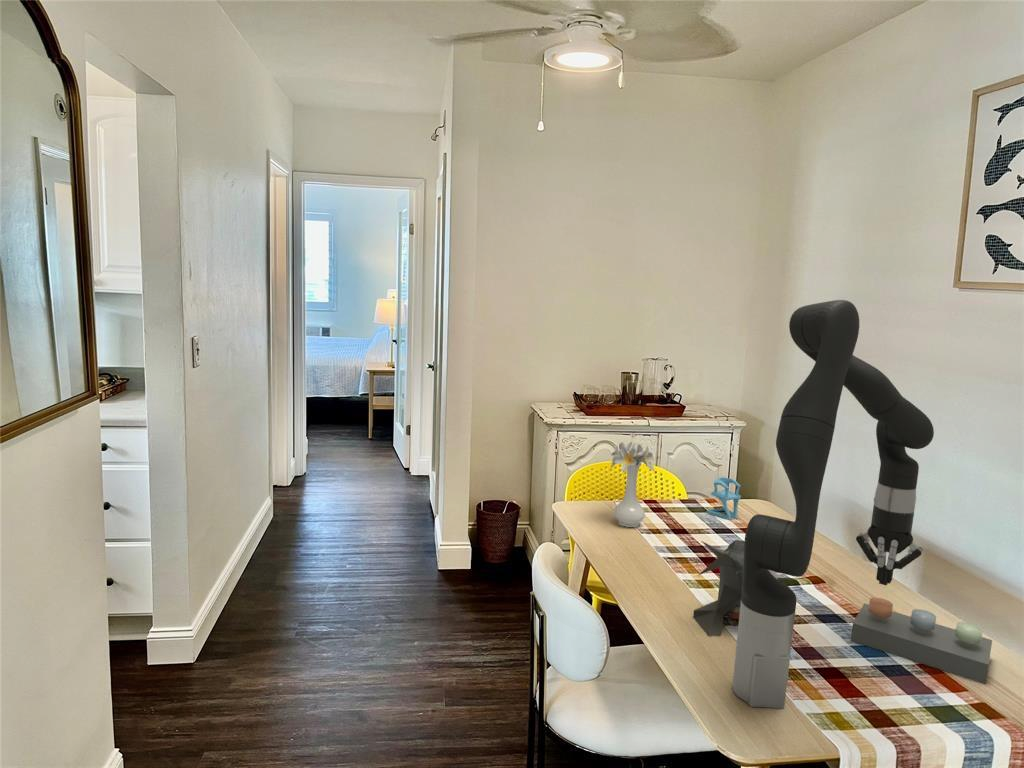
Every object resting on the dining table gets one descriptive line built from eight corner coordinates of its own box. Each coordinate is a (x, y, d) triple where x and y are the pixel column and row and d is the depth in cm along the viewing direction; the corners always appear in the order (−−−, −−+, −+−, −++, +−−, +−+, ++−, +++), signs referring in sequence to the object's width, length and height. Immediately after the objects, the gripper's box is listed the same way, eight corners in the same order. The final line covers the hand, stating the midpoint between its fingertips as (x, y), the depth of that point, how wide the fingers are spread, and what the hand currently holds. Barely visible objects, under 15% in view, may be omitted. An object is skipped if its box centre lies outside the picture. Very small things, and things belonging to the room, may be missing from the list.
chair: (725, 521, 219) (728, 484, 217) (705, 512, 226) (709, 476, 225) (742, 518, 223) (746, 481, 221) (723, 509, 230) (726, 474, 228)
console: (989, 658, 145) (992, 640, 144) (985, 683, 135) (988, 664, 134) (861, 619, 159) (864, 603, 158) (850, 640, 149) (852, 623, 149)
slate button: (935, 624, 147) (937, 614, 146) (933, 632, 143) (934, 621, 143) (911, 617, 149) (913, 607, 149) (908, 625, 146) (910, 614, 145)
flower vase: (643, 514, 223) (649, 437, 219) (653, 535, 204) (660, 452, 200) (602, 511, 223) (607, 435, 219) (608, 533, 205) (614, 449, 201)
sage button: (981, 637, 142) (983, 626, 141) (980, 646, 138) (981, 635, 138) (956, 630, 144) (957, 619, 144) (953, 638, 141) (955, 627, 141)
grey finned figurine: (776, 634, 151) (785, 554, 148) (708, 636, 148) (716, 555, 145) (745, 602, 165) (753, 529, 162) (682, 604, 162) (689, 530, 159)
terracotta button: (892, 612, 151) (894, 601, 151) (889, 619, 148) (890, 609, 147) (870, 605, 154) (871, 595, 153) (866, 613, 150) (867, 602, 150)
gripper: (932, 508, 146) (921, 586, 149) (863, 494, 154) (853, 569, 157) (928, 517, 140) (916, 599, 143) (855, 502, 148) (846, 580, 151)
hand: (883, 583), depth 150 cm, fingers closed
